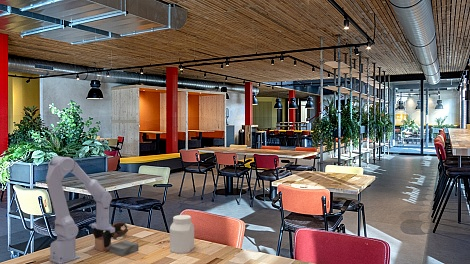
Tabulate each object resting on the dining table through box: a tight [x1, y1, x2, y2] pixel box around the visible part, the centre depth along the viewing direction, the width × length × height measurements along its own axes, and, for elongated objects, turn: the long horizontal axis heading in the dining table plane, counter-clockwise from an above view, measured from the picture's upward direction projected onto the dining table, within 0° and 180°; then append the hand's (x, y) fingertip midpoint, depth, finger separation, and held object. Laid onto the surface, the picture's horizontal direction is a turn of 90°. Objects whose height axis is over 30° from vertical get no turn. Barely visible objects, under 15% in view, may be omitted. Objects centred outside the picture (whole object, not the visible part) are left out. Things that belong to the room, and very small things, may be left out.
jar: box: [169, 214, 195, 254], centre depth 170 cm, size 12×10×15 cm
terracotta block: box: [94, 236, 112, 252], centre depth 171 cm, size 5×5×5 cm
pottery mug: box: [111, 221, 129, 240], centre depth 189 cm, size 12×10×8 cm
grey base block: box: [108, 240, 139, 257], centre depth 167 cm, size 9×9×4 cm
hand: (103, 245), depth 171 cm, fingers closed on terracotta block, 5 cm apart
